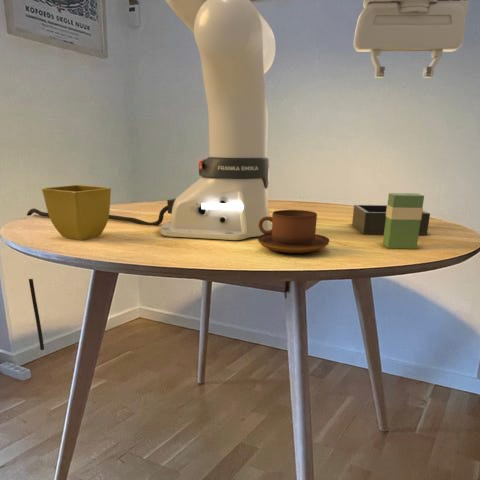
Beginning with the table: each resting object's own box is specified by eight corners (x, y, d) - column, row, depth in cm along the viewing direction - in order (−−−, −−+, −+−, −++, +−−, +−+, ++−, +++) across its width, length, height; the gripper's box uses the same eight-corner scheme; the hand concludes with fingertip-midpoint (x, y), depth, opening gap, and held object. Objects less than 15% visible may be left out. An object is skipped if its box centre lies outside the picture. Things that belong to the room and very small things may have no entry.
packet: (387, 248, 81) (394, 195, 78) (382, 244, 85) (388, 193, 81) (417, 248, 81) (424, 195, 78) (410, 244, 84) (417, 193, 81)
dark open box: (363, 234, 93) (365, 212, 92) (352, 224, 104) (354, 204, 102) (426, 235, 93) (430, 213, 91) (409, 225, 104) (411, 205, 102)
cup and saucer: (258, 257, 74) (259, 218, 72) (256, 242, 85) (257, 207, 83) (334, 258, 74) (337, 219, 72) (322, 242, 85) (324, 208, 83)
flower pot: (116, 235, 90) (112, 187, 86) (82, 243, 82) (76, 191, 79) (82, 231, 94) (77, 184, 90) (47, 238, 86) (40, 188, 83)
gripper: (463, -2, 89) (450, 79, 94) (355, -1, 90) (349, 79, 95) (477, -12, 83) (463, 75, 88) (362, -11, 84) (354, 75, 89)
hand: (403, 77), depth 92 cm, fingers open, 8 cm apart
